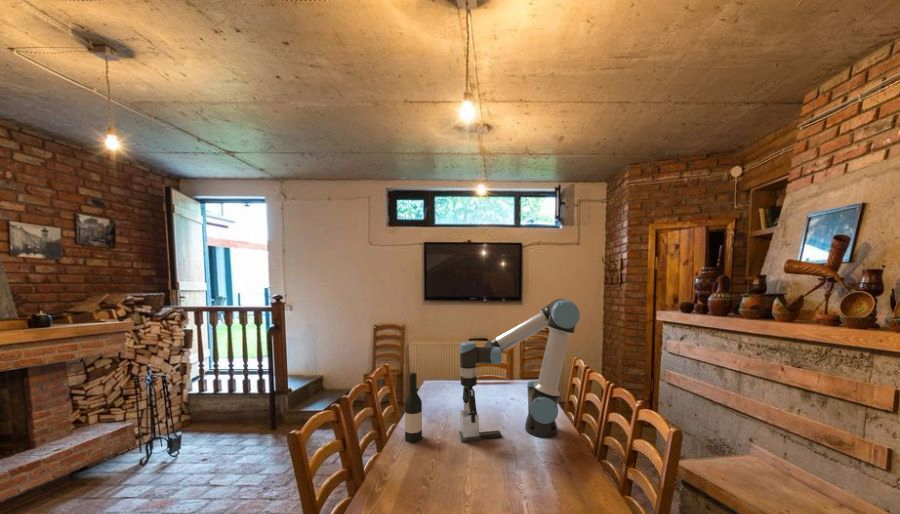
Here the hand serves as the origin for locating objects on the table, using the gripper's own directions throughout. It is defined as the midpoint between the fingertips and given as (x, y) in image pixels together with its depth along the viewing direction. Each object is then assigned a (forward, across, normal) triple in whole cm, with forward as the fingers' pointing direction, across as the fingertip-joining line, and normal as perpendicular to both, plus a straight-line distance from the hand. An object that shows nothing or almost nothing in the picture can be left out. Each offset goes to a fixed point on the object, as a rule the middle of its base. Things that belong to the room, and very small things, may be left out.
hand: (469, 423), depth 151 cm
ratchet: (+7, 0, +5) cm, 9 cm away
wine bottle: (+7, -5, -26) cm, 27 cm away
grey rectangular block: (+4, 0, 0) cm, 5 cm away
